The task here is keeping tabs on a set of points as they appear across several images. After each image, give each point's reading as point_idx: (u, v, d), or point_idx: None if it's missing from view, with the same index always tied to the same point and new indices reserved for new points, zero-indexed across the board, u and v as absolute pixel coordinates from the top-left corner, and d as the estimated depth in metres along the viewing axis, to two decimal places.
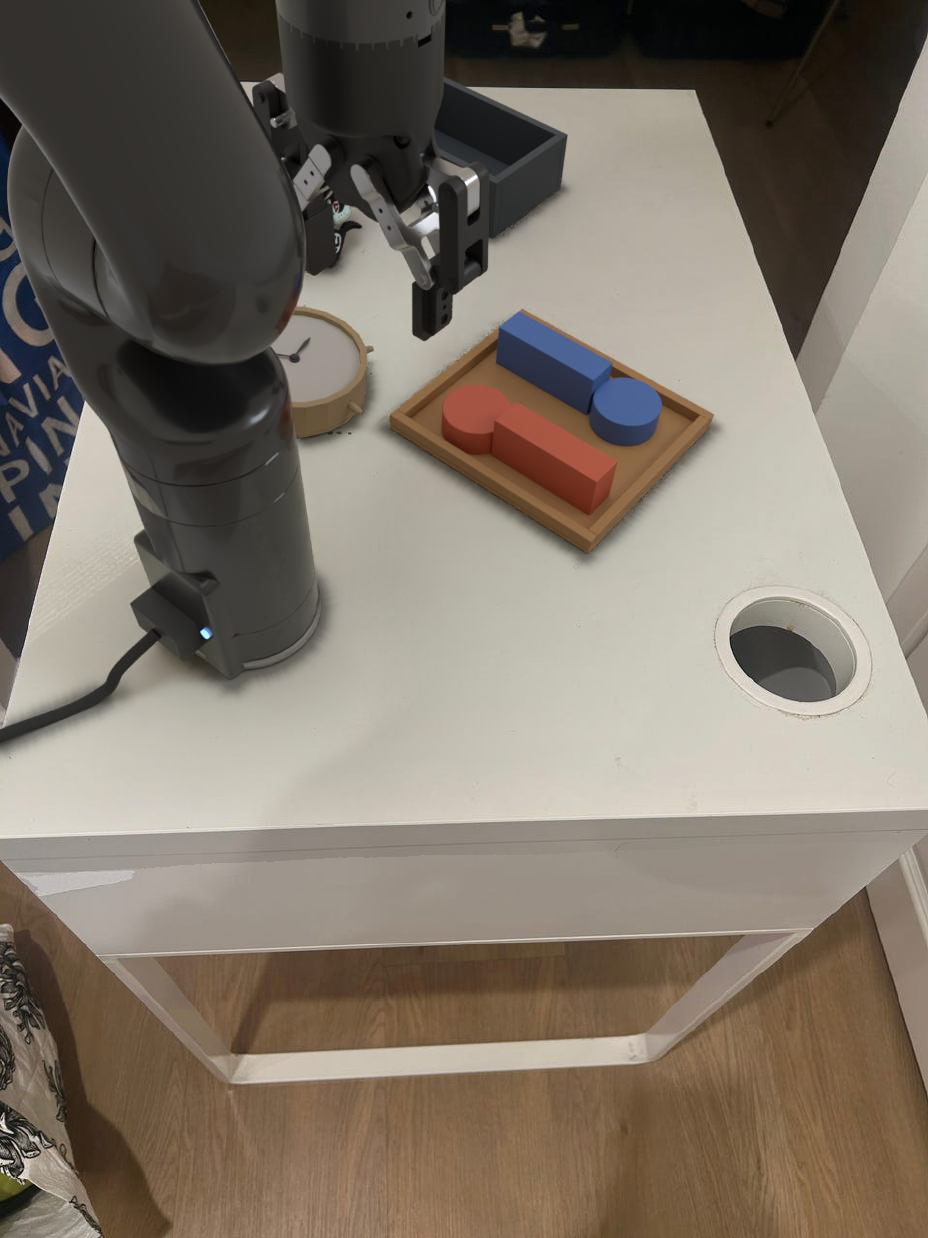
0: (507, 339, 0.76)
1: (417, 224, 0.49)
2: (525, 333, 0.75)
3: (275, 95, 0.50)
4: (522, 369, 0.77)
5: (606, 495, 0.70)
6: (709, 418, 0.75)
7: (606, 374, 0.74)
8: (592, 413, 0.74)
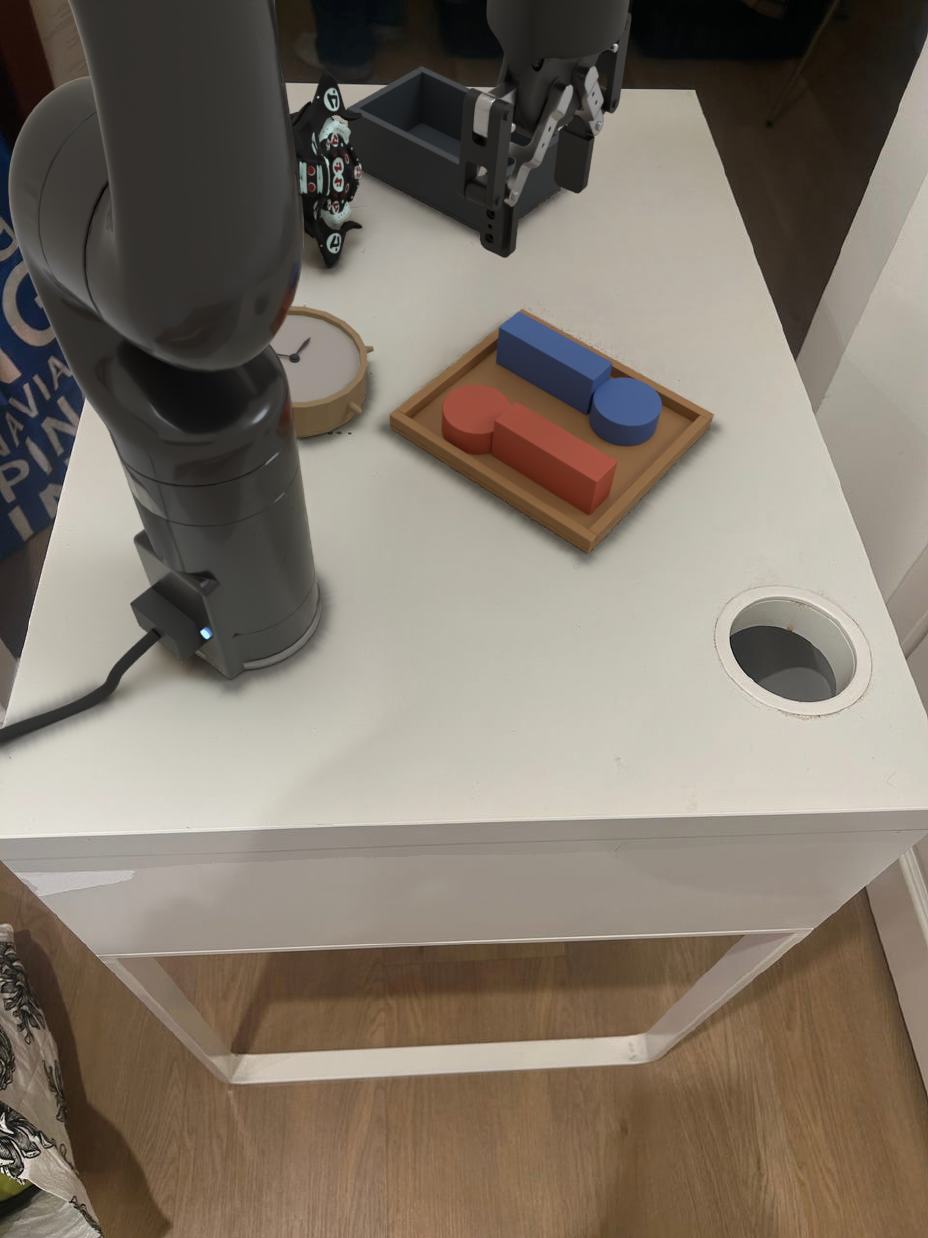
0: (507, 339, 0.76)
1: None
2: (525, 333, 0.75)
3: None
4: (522, 369, 0.77)
5: (606, 495, 0.70)
6: (709, 418, 0.75)
7: (606, 374, 0.74)
8: (592, 413, 0.74)
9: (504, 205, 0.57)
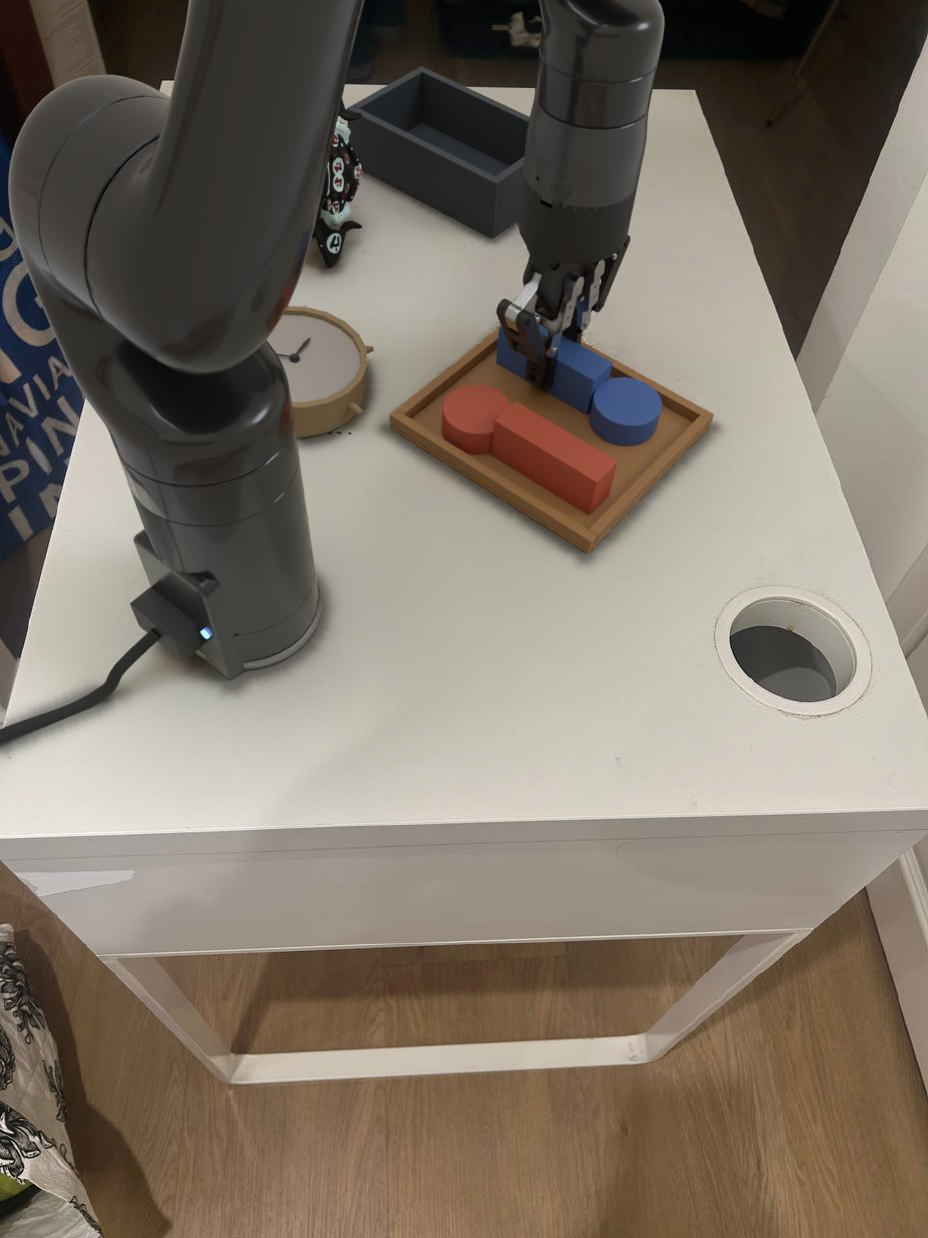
0: None
1: (538, 314, 0.70)
2: None
3: None
4: (522, 369, 0.77)
5: (606, 495, 0.70)
6: (709, 418, 0.75)
7: (606, 374, 0.74)
8: (592, 413, 0.74)
9: (545, 356, 0.73)
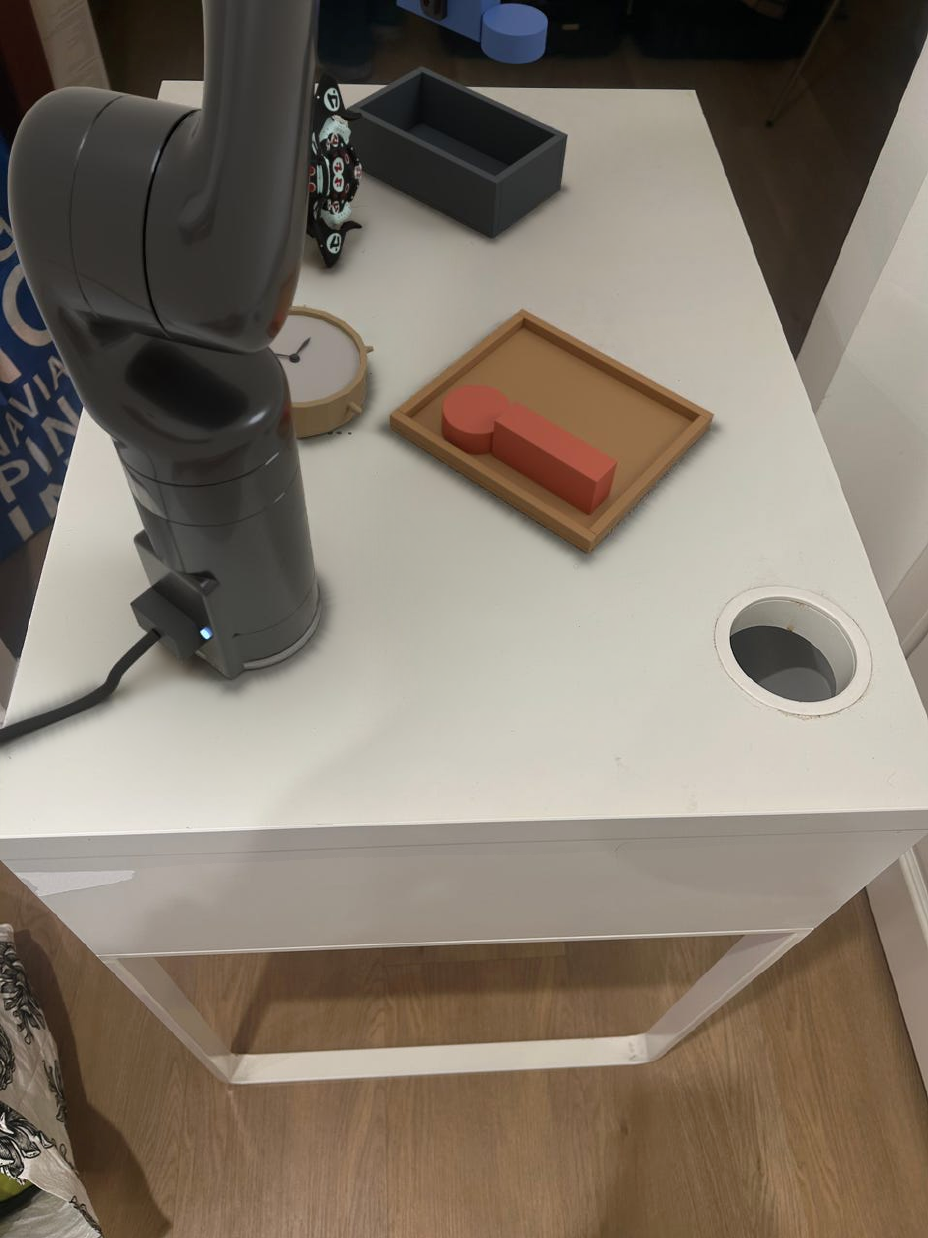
0: None
1: None
2: None
3: None
4: None
5: (606, 495, 0.70)
6: (709, 418, 0.75)
7: None
8: (482, 32, 0.78)
9: None
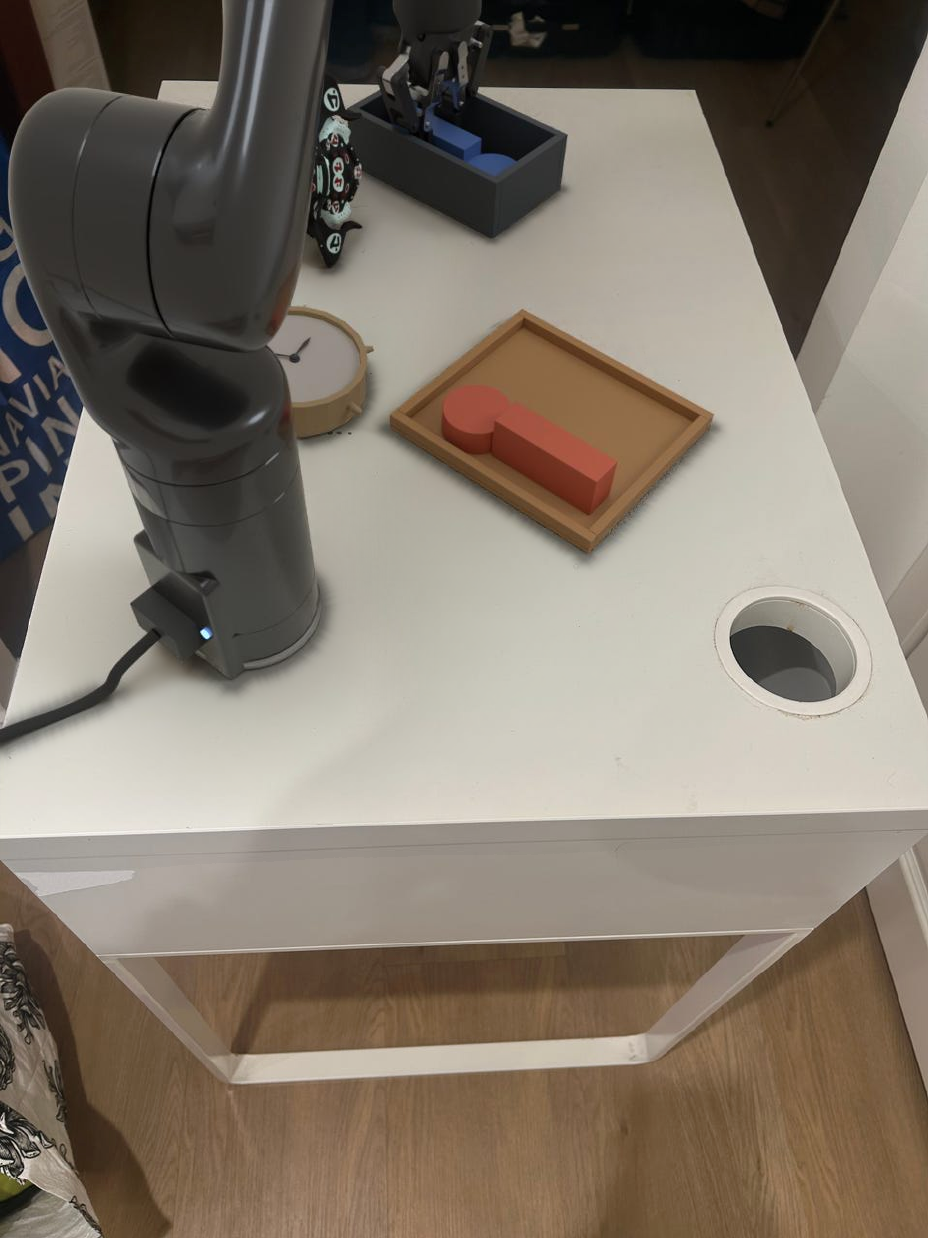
0: None
1: (414, 90, 0.87)
2: None
3: None
4: None
5: (606, 495, 0.70)
6: (709, 418, 0.75)
7: (476, 148, 0.91)
8: None
9: (422, 131, 0.89)
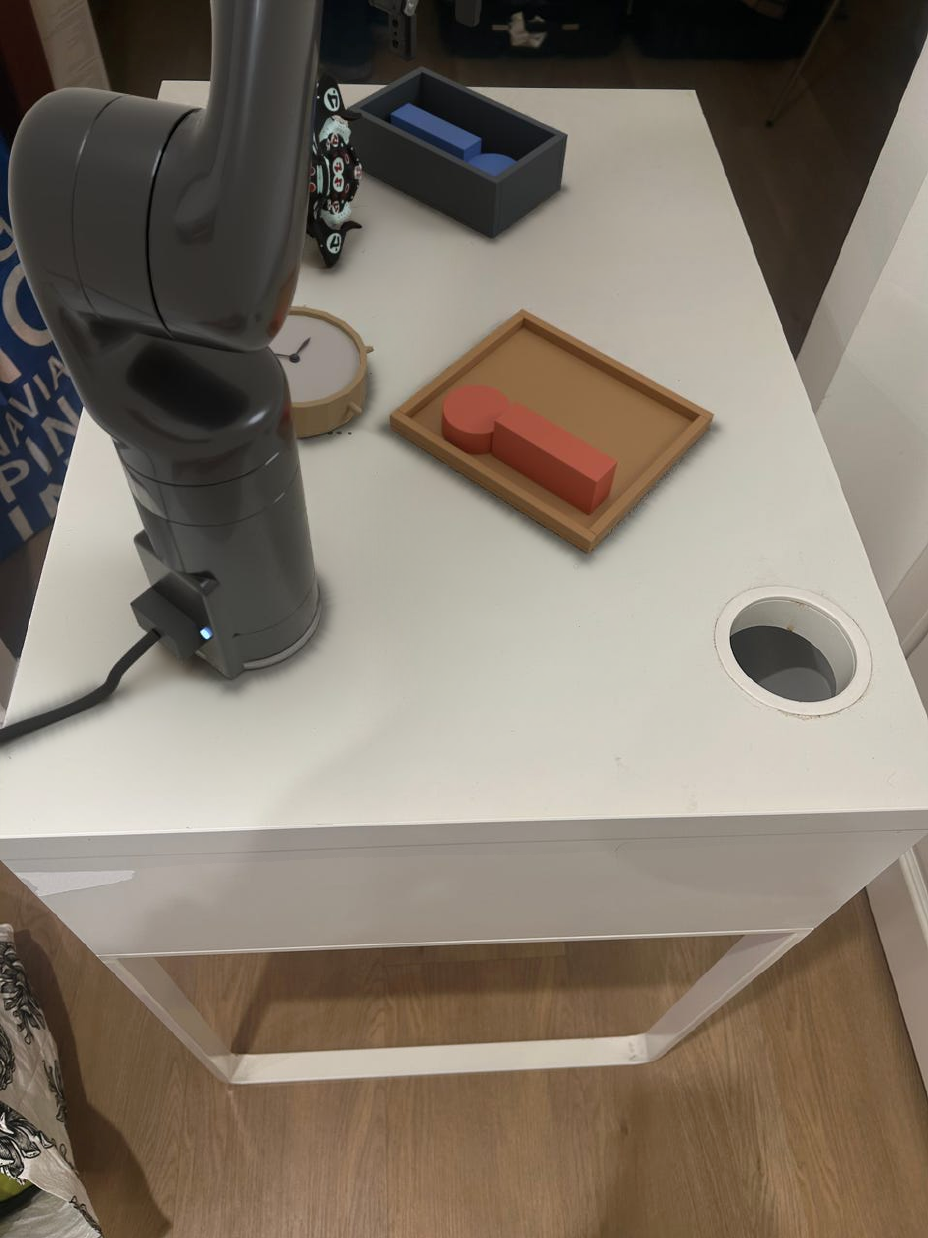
0: (397, 124, 0.92)
1: None
2: (412, 118, 0.92)
3: None
4: None
5: (606, 495, 0.70)
6: (709, 418, 0.75)
7: (476, 148, 0.91)
8: None
9: (404, 15, 0.79)
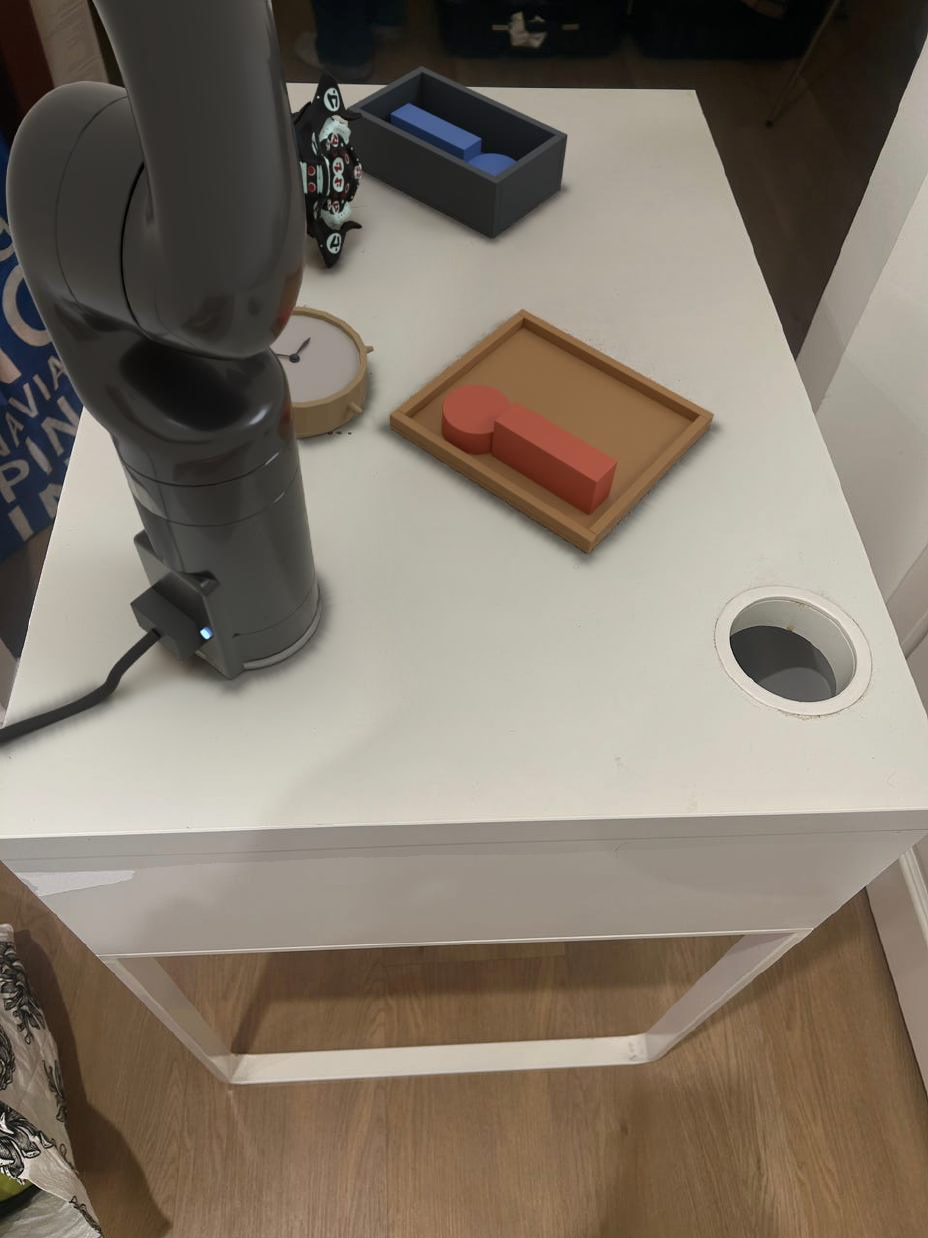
0: (397, 124, 0.92)
1: None
2: (412, 118, 0.92)
3: None
4: None
5: (606, 495, 0.70)
6: (709, 418, 0.75)
7: (476, 148, 0.91)
8: None
9: None
